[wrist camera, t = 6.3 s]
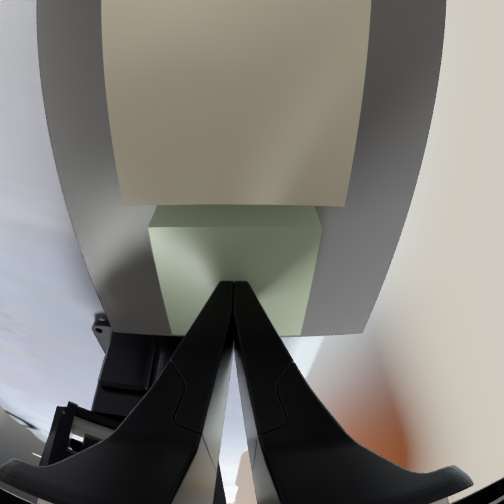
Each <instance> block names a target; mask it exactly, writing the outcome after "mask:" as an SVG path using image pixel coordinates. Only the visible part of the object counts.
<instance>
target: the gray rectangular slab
mask: <svg viewBox="0 0 504 504" xmlns="http://www.w3.org/2000/svg"><path fill="white" fill-rule="evenodd" d="M445 15H446V0H371V14H370V28H369V41H368V52H367V62H366V72H365V81H364V89H363V97H362V105H361V112H360V119H359V126H358V133H357V139H356V145H355V152H354V158H353V163H352V169H351V175H350V180H349V186H348V191H347V196H346V201H345V206H344V207H334V206H315V209H316V212H317V214H318V217H319V220H320V223H321V226H322V233H321V239H320V244H319V249H318V255H317V260H316V265H315V270H314V275H313V280H312V285H311V290H310V294H309V299H308V304H307V308H306V313H305V317H304V322H303V326H302V330H301V335H290V336H279V337H303V336H326V335H344V334H359V333H363V330H364V328H365V326H366V323H367V321H368V319H369V317H370V314H371V312H372V310H373V307H374V305H375V302H376V300H377V297H378V295H379V292H380V290H381V287H382V285H383V282H384V280H385V277H386V274H387V272H388V269H389V266H390V264H391V261H392V258H393V255H394V253H395V250H396V247H397V244H398V241H399V238H400V235H401V232H402V229H403V226H404V223H405V220H406V217H407V213H408V210H409V207H410V204H411V200H412V197H413V193H414V190H415V186H416V183H417V179H418V175H419V171H420V167H421V164H422V159H423V155H424V151H425V147H426V143H427V138H428V134H429V129H430V124H431V119H432V114H433V109H434V104H435V98H436V92H437V86H438V80H439V72H440V65H441V57H442V49H443V40H444V29H445V28H444V27H445ZM37 42H38V57H39V68H40V77H41V86H42V94H43V101H44V107H45V114H46V120H47V125H48V131H49V136H50V141H51V146H52V151H53V155H54V160H55V164H56V168H57V172H58V176H59V180H60V184H61V188H62V192H63V195H64V199H65V203H66V206H67V209H68V213H69V216H70V219H71V223H72V226H73V229H74V232H75V235H76V238H77V241H78V244H79V247H80V250H81V253H82V256H83V258H84V261H85V264H86V267H87V269H88V272H89V275H90V277H91V280H92V282H93V285H94V287H95V290H96V292H97V295H98V297H99V300H100V302H101V304H102V307H103V309H104V311H105V314H106V316H107V318H108V320H109V323H110V325H111V327H112V329H113V331H114V332H120V333H133V334H148V335H165V336H185V335H174V334H172V332H171V328H170V324H169V320H168V316H167V312H166V308H165V304H164V300H163V296H162V292H161V288H160V283H159V279H158V275H157V270H156V265H155V261H154V256H153V251H152V246H151V241H150V236H149V231H148V226H149V223H150V221H151V219H152V216H153V214H154V212H155V209H156V207H157V205H143V206H123V201H122V196H121V191H120V186H119V181H118V175H117V170H116V164H115V158H114V151H113V145H112V138H111V131H110V124H109V116H108V107H107V98H106V88H105V77H104V64H103V48H102V21H101V0H37Z"/></svg>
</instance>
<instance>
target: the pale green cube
mask: <svg viewBox="0 0 504 504" xmlns="http://www.w3.org/2000/svg"><path fill="white" fill-rule="evenodd" d="M148 231H149V236H150V241H151V246H152V251H153V256H154V261H155V265H156V270H157V275H158V279H159V283H160V288H161V292H162V296H163V300H164V304H165V308H166V312H167V316H168V320H169V324H170V328H171V332H172V334H174V335H186V333H187V332H188V330H189V328H190V327H191V325H192V324H193V322H194V321H195V319H196V317H197V316H198V314H199V313H200V311H201V310H202V308H203V306H204V305H205V303H206V302H207V300H208V299H209V297H210V296H211V294H212V292H213V291H214V289H215V288H216V286H217V285H218V283H219V282H220V281H233V282H235V281H247V282H248V283H249V284H250V286H251V288H252V289H253V291H254V293H255V295H256V296H257V298H258V300H259V302H260V303H261V305H262V307H263V309H264V310H265V312H266V314H267V316H268V317H269V319H270V321H271V323H272V324H273V326H274V328H275V330H276V331H277V333H278V335H279V336H290V335H301V330H302V326H303V322H304V317H305V313H306V308H307V304H308V299H309V294H310V290H311V285H312V280H313V275H314V270H315V265H316V260H317V255H318V249H319V244H320V239H321V233H322V226H321V223H320V220H319V217H318V214H317V212H316V209H315V206H303V205H249V204H197V205H157V207H156V209H155V212H154V214H153V216H152V219H151V221H150V223H149V226H148Z"/></svg>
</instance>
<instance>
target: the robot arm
mask: <svg viewBox="0 0 504 504" xmlns="http://www.w3.org/2000/svg"><path fill="white" fill-rule="evenodd" d="M92 330H93V332H94V334H95V336H96V338H97V340H98V342H99V344H100V345H101V347H102V349H103V351H104V353H105V357H104V361H103V364H102V368H101V371H100V375H99V379H98V384H97V388H96V392H95V396H94V400H93V404H92V408H91V411H89V410H86V409H84V408H81V407H79V406H78V404H75V403H72V402H70V401H69V402H68V405H67V407H60V406H57V408H56V412H55V415H54V419H53V423H52V426H51V430H50V433H49V436H48V439H47V442H46V445H45V448H44V451H43V454H42V457H41V460H40V464H39V466H34V465H31V464H28V463H26V462H23V461H21V460H17V459H14V458H12V459H11V460H9V461H7V462H6V463H5V464H3V465H2V466H1V467H0V481H3V482H4V483H6V484H8V485H10V486H13V487H15V488H17V489H19V490H21V491H24V492H26V493H28V494H30V495H33V496H35V497H37V498H38V502H37V504H226V498H225V493H224V488H223V483H222V477H221V472H220V466H219V453H220V445H221V438H222V431H223V424H224V416H225V409H226V402H227V395H228V387H229V380H230V373H231V366H232V359H233V350H234V352H235V361H236V368H237V376H238V383H239V390H240V397H241V404H242V411H243V417H244V424H245V431H246V437H247V444H248V450H249V457H250V463H251V469H252V473H253V474H252V475H253V481H254V487H255V493H256V499H257V504H449V502H448V496H451V495H453V494H455V493H458V492H460V491H462V490H464V489H467V488H468V487H471V486H473V482H472V480H471V479H470V477H469V476H468V475H467V474H466V473H464V472H463V471H462V470H461V469H459V468H458V467H456V466H453V465H452V466H448V467H445V468H442V469H439V470H436V471H433V472H430V473H416V472H412V471H409V470H407V469H404V468H402V467H401V466H399V465H397V464H395V463H393V462H391V461H389V460H387V459H385V458H384V457H381V456H380V455H378V454H376V453H374V452H373V451H371V450H369V449H367V448H366V447H364V446H362V445H360V444H359V443H358V442H356V441H355V440H354V439H353V438H351V437H350V436H349V435H348V434H347V432H346V431H345V430H344V429H343V428H342V427H341V426H340V424H339V423H338V422H337V421H336V419H335V418H334V417H333V416H332V414H331V413H330V412H329V411H328V410H327V408H326V407H325V406H324V405H323V403H322V402H321V401H320V400H319V399H318V397H317V396H316V395H315V393H314V392H313V390H312V389H311V388H310V387H309V385H308V383H307V382H306V380H305V379H304V377H303V375H302V374H301V372H300V371H299V369H298V367H297V365H296V364H295V363H294V362H293V359H292V357H291V355H290V354H289V352H288V350H287V349H286V347H285V345H284V343H283V342H282V340H281V338H280V337H279V335H278V333H277V331H276V330H275V328H274V326H273V324H272V323H271V321H270V319H269V317H268V316H267V314H266V312H265V310H264V309H263V307H262V305H261V303H260V302H259V300H258V298H257V296H256V295H255V293H254V291H253V289H252V288H251V286H250V284H249V283H248V282H247V281H235V282H233V281H220V282H219V283H218V285H217V286H216V288H215V289H214V291H213V292H212V294H211V296H210V297H209V299H208V300H207V302H206V303H205V305H204V306H203V308H202V310H201V311H200V313H199V314H198V316H197V317H196V319H195V321H194V322H193V324H192V325H191V327H190V328H189V330H188V332H187V333H186V335H185V336H165V335H148V334H133V333H120V332H114V331H113V329H112V327H111V325H110V323H109V322H108V321H95V322H94V323H93V326H92ZM73 434H75V435H78V436H80V437H83V438H84V439H83V442H81V441H78V440H75V439H72V435H73ZM0 504H34V503H31V502H29V501H27V500H25V499H22V498H20V497H18V496H16V495H14V494H12V493H10V492H8V491H6V490H4V489H2V488H0ZM450 504H504V477H503V478H501V479H499V480H498V481H496V482H494V483H492V484H490V485H488V486H486V487H484V488H482V489H480V490H478V491H476V492H474V493H472V494H470V495H468V496H466V497H463V498H462V499H459V500H457V501H455V502H452V503H450Z"/></svg>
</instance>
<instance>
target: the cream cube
mask: <svg viewBox="0 0 504 504" xmlns="http://www.w3.org/2000/svg"><path fill="white" fill-rule="evenodd" d="M370 14H371V0H101V21H102V48H103V64H104V77H105V88H106V98H107V107H108V116H109V124H110V131H111V138H112V145H113V151H114V158H115V164H116V170H117V175H118V181H119V186H120V191H121V196H122V201H123V206H143V205H197V204H249V205H303V206H334V207H344V206H345V201H346V196H347V191H348V186H349V180H350V175H351V169H352V163H353V158H354V152H355V145H356V139H357V133H358V126H359V119H360V112H361V105H362V97H363V89H364V81H365V72H366V62H367V52H368V41H369V28H370Z"/></svg>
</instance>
